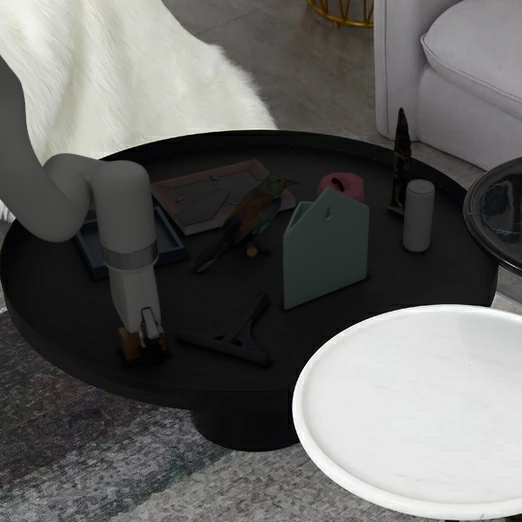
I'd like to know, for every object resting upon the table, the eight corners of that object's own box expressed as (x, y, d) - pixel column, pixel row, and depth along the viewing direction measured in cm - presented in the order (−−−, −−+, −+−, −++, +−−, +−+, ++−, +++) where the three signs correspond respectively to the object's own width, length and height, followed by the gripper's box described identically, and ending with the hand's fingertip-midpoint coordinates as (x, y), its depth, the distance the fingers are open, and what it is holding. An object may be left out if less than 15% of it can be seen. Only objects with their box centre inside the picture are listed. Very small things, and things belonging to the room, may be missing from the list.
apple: (363, 238, 177) (365, 189, 170) (314, 235, 177) (315, 186, 170) (365, 210, 184) (368, 162, 178) (319, 207, 184) (319, 159, 178)
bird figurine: (209, 285, 163) (257, 173, 157) (177, 259, 168) (223, 149, 163) (268, 296, 173) (315, 191, 167) (236, 271, 179) (281, 168, 173)
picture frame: (185, 237, 175) (295, 209, 183) (184, 225, 173) (295, 197, 182) (151, 194, 185) (256, 169, 194) (149, 182, 183) (256, 157, 192)
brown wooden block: (128, 365, 148) (124, 341, 145) (121, 352, 150) (117, 328, 147) (167, 355, 150) (164, 331, 147) (160, 342, 152) (157, 318, 149)
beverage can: (420, 256, 173) (426, 196, 166) (397, 247, 175) (401, 187, 167) (434, 244, 177) (440, 184, 169) (411, 235, 178) (415, 176, 171)
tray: (94, 279, 164) (92, 268, 162) (73, 235, 173) (70, 223, 172) (186, 259, 170) (185, 247, 168) (160, 217, 179) (158, 205, 178)
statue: (412, 226, 181) (420, 124, 168) (382, 212, 184) (388, 111, 171) (426, 218, 183) (435, 117, 170) (396, 203, 187) (403, 103, 174)
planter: (340, 256, 172) (342, 152, 160) (367, 278, 168) (372, 173, 155) (259, 286, 165) (255, 180, 152) (285, 310, 160) (283, 203, 147)
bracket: (305, 313, 160) (305, 299, 158) (264, 367, 149) (263, 352, 147) (225, 291, 163) (224, 277, 161) (179, 342, 153) (177, 328, 151)
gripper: (86, 223, 142) (103, 320, 154) (120, 289, 131) (136, 388, 142) (138, 213, 145) (150, 309, 156) (176, 276, 134) (186, 375, 145)
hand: (143, 346), depth 149 cm, fingers open, 8 cm apart
